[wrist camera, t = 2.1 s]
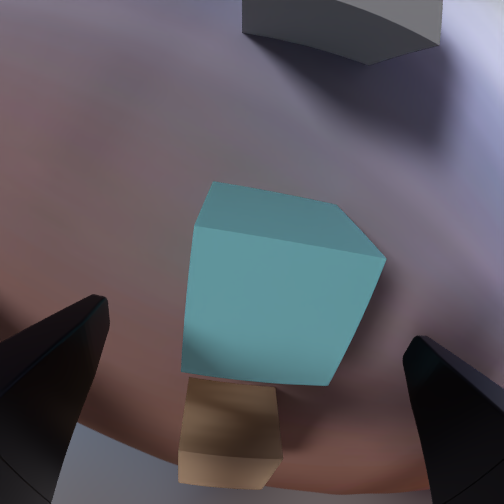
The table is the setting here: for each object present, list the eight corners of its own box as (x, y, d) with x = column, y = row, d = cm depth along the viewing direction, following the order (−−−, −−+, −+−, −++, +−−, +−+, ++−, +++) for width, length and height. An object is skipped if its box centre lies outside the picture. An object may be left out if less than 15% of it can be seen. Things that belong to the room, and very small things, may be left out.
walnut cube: (186, 420, 18) (178, 482, 14) (189, 376, 16) (178, 450, 12) (257, 428, 19) (261, 489, 14) (275, 386, 17) (283, 459, 12)
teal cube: (198, 289, 14) (180, 371, 9) (213, 181, 12) (194, 225, 7) (304, 305, 14) (328, 385, 10) (335, 204, 12) (386, 258, 8)
